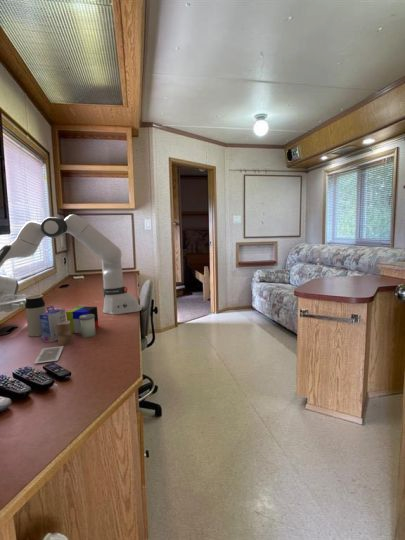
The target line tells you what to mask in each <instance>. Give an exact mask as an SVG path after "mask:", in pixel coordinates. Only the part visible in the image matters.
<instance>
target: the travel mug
mask: <svg viewBox="0 0 405 540" xmlns="http://www.w3.org/2000/svg"><path fill="white" fill-rule="evenodd" d="M26 296H27V297H25V299H26V304H25V307H24V308H25V315H26V325H27V332H28V334H27V335H28V336H30V337H40V336H42V330H41V323H40V316H39V315H41V314H44V313H46V311H47V309H46V303H45V302H46V301H44V299H43V298H44V295H43V294H33V295H26Z"/></svg>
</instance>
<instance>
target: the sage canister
mask: <svg viewBox="0 0 405 540" xmlns="http://www.w3.org/2000/svg"><path fill="white" fill-rule="evenodd" d="M94 318H95V315H94V314H85V315H81V316H80V317H79V319H80V324H81V333H80V334H81V337H82V338H91V337H94V336H96V328H95V321H94Z"/></svg>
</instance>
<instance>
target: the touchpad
mask: <svg viewBox="0 0 405 540" xmlns="http://www.w3.org/2000/svg"><path fill="white" fill-rule="evenodd" d="M64 346H65V345H63V346H59V345H58V346H54V347H53V346H52V347H45V348H44V347H43V348H42V349H41V351H40V352H39V354H38V356H37V358H36V359H35V361H34V362H33V364H41V363H47V362H49V363H50V362H56V361H59V358H60V356H61V353H62V351H63V349H64Z"/></svg>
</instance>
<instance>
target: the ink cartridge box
mask: <svg viewBox="0 0 405 540" xmlns="http://www.w3.org/2000/svg"><path fill="white" fill-rule="evenodd" d="M50 308H51V309H50ZM45 310H46V311H47V312H46V313H44V314H41V315H39V316H40V323H41V330H42V335H41V336H42V341H43V343H45V342H46V343H53V342H55V341H58V335H57V322H61V321H67V317H66V310H65V309H64V308H55V307H54V305H51V306H47V307H46V306H45Z"/></svg>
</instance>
